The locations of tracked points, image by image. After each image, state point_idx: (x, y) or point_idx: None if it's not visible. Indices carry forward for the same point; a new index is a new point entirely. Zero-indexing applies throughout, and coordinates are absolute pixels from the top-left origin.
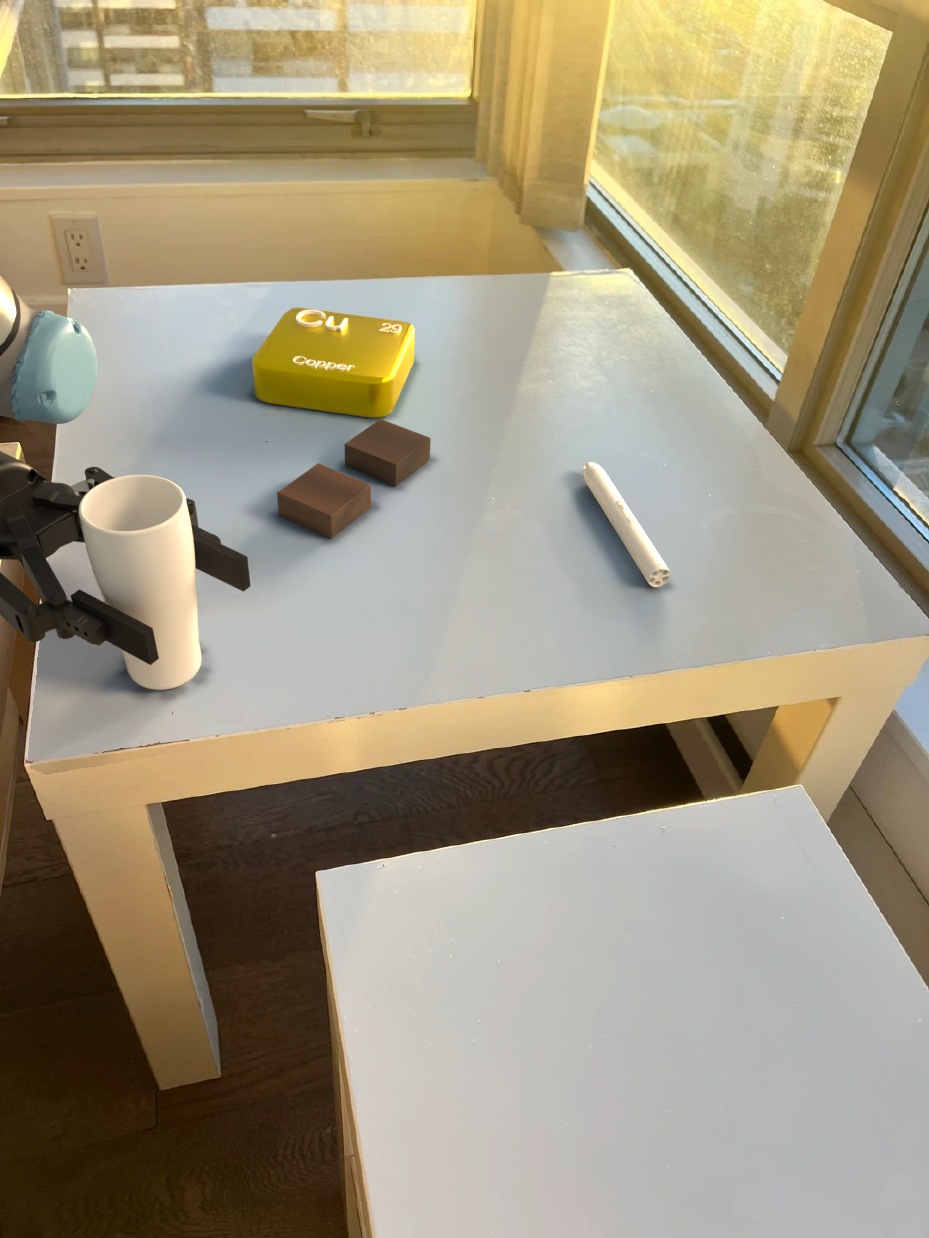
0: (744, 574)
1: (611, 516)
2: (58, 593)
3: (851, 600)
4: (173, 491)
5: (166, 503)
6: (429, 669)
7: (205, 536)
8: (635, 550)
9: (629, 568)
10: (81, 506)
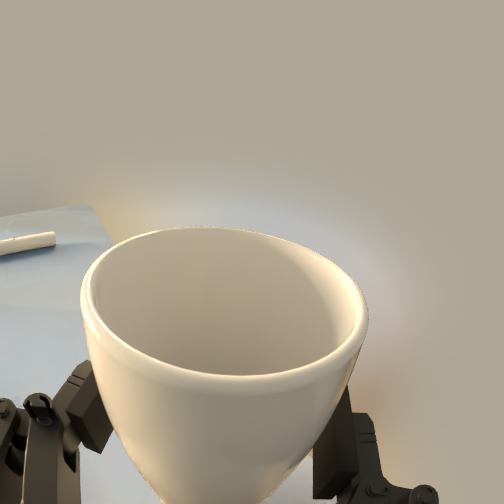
0: (50, 227)
1: (3, 248)
2: (366, 495)
3: (70, 212)
4: (123, 263)
5: (110, 323)
6: None
7: (79, 380)
8: (34, 240)
9: (38, 251)
10: (332, 355)
